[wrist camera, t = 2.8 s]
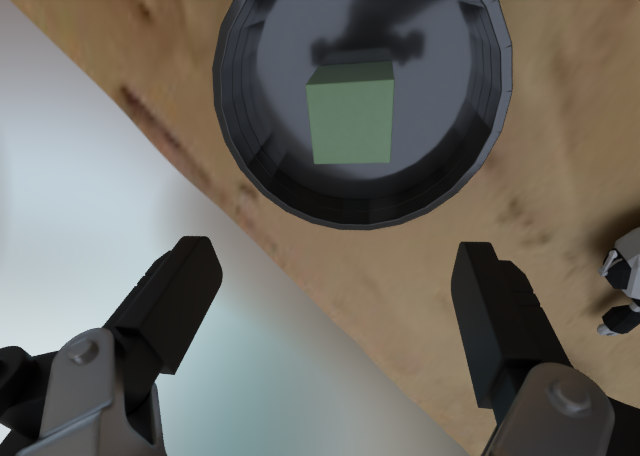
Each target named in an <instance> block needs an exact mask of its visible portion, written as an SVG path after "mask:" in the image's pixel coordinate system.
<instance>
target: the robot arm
mask: <svg viewBox="0 0 640 456" xmlns="http://www.w3.org/2000/svg"><path fill="white" fill-rule="evenodd" d="M222 275H223V274H222V268H221V265H220V263H219V260H218V258H217V255H216V253H215V251H214V248H213V246H212V243H211V241H210V239H209V238H208V237H205V236H184V237H182V238H181V239H180V240H179V241H178V243H177V244H176V245H175V247H174V248H173V249H172V250H171V251H168V252H167V253H165V254H164V255H163V256H161V257H160V258H159V259H157V260H156V261H155V262H154V263H153V264H152V266H151V267H150V268H149V269H148V271H147V272H146V273H145V276H143V277H142V278H141V279H140V281H139V282H138V283H137V286H135V287H134V288H133V289H132V291H131V292H130V293H129V295H128V296H127V297H126V298H125V299H124V301H123V302H122V303H121V305H120V306H119V307H118V308H117V309H116V311H115V312H114V313H113V315H112V316H111V317H110V318H109V320H108V321H107V322H106V323H105V325H104V326H103V327H102V328H94V329H90V330H87V331H85V332H83V333H81V334H79V335H77V336H75V337H74V338H72V339H71V340H70V341H68V342H67V343H66V344H65V345H64V346H63V347H62V348H61V349H60V350H59V351H55V352H50V353H46V354H42V355H37V356H33V357H32V356H31V355H29V354H28V353H27V352H26V351H24V350H23V349H22V348H21V347H18V346H8V347H5V348H1V349H0V423H1V424H3V425H4V426H6V427H8V428H10V429H11V431H10V433H9V434H8V435H7V436H6V438H5V439H4V440H3V442H2V443H1V444H0V456H167V454H166V451H165V447H164V440H163V433H162V424H161V415H160V408H159V399H158V390H157V386H156V384H155V380H156V378H157V376H158V375H159V373H162V374H171V375H175V373H176V371H177V369H178V367H179V365H180V363H181V361H182V359H183V357H184V355H185V354H186V352H187V350H188V348H189V346H190V344H191V342H192V340H193V338H194V336H195V334H196V332H197V330H198V328H199V326H200V325H201V323H202V321H203V319H204V317H205V315H206V313H207V311H208V309H209V307H210V305H211V303H212V301H213V299H214V297H215V295H216V294H217V292H218V290H219V288H220V286H221V283H222V277H223V276H222ZM451 294H452V300H453V304H454V308H455V312H456V317H457V321H458V325H459V329H460V333H461V338H462V342H463V346H464V350H465V354H466V359H467V363H468V367H469V371H470V375H471V380H472V384H473V388H474V392H475V396H476V400H477V405H478V408H487V409H493V411H494V415H495V419H496V422H497V425H496V427H495V429H494V431H493V433H492V435H491V437H490V438H489V440H488V442H487V444H486V446H485V448H484V450H483V452H482V454H481V456H640V409H638V408H635V407H633V406H630V405H627V404H624V403H622V402H619V401H617V400H614V399H612V398H610V397H608V396H606V394H605V393H604V392H603V390H602V389H601V388H600V387H599V386H598V385H597V384H596V383H595V382H594V381H593V380H591V379H590V378H589V377H587V376H586V375H584V374H583V373H581V372H580V371H578V370H576V369H574V368H573V366H572V365H571V363H570V361H569V359H568V357H567V355H566V354H565V352H564V350H563V348H562V346H561V344H560V342H559V340H558V338H557V336H556V334H555V332H554V330H553V328H552V326H551V324H550V322H549V320H548V318H547V316H546V314H545V312H544V310H543V308H542V307H540V302H539V300H538V298H537V297H536V295H535V294H534V293H533V289H532V287H531V285H530V283H529V281H528V279H527V277H526V275H525V274H524V273H523V272H522V271H521V270H520V269H519V268H518V267H517V266H516V265H514V264H513V263H512V262H511V261H505V260H498V258H497V255H496V253H495V251H494V249H493V246H492V244H491V243H490V242H461V243H460V244H459V248H458V252H457V256H456V261H455V265H454V269H453V274H452V278H451Z"/></svg>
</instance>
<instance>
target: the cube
mask: <svg viewBox="0 0 640 456" xmlns="http://www.w3.org/2000/svg"><path fill="white" fill-rule="evenodd" d="M394 86H395V79H394V72H393V66H392V61H381V62H367V63H354V64H340V65H326V66H318V68H317V69H316V71H315V72H314V73H313V75H312V76H311V78H310V79H309V81H308V82H307V83H306V85H305V88H306V97H307V105H308V114H309V123H310V132H311V140H312V149H313V158H314V164H349V163H390V162H391V144H392V125H393V105H394Z"/></svg>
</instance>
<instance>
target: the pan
mask: <svg viewBox="0 0 640 456" xmlns="http://www.w3.org/2000/svg"><path fill="white" fill-rule="evenodd" d="M381 61H392V66H393V72H394V79H395V86H394V105H393V125H392V144H391V162H390V163H349V164H314V158H313V149H312V140H311V132H310V123H309V114H308V105H307V97H306V88H305V85H306V83H307V82H308V81H309V79H310V78H311V76H312V75H313V73H314V72H315V71H316V69H317V68H318V66H326V65H340V64H354V63H367V62H381ZM212 73H213V93H214V106H215V111H216V114H217V117H218V121H219V124H220V128H221V131H222V134H223V138H224V140H225V143H226V145H227V147H228V148H229V150H230V152H231V154H232V156H233V157H234V159H235V161H236V163H237V165H238V166H239V168H240V170H241V171H242V172H243V173H244V174H245V175H246V177H247V178H248V179H249V180H250V181H251V182H252V183H253V184H254V186H255V187H256V188H257V189H258V190H259V191H260V192H261V193H262V194H263V195H264V196H265V197H267V198H268V199H270V200H271V201H272V202H274V203H275V204H276V205H278V206H279V207H280V208H282V209H283V210H285V211H286V212H288V213H290V214H293V215H295V216H297V217H299V218H301V219H304V220H306V221H308V222H310V223H313V224H317V225H322V226H326V227H330V228H335V229H339V230H340V229H341V230H374V229H379V228H385V227H390V226H395V225H399V224H403V223H405V222H408V221H410V220H412V219H415V218H417V217H420V216H422V215H425V214H427V213H429V212H431V211H432V210H433V209H435V208H436V207H438V206H439V205H441V204H442V203H444V202H445V201H447V200H448V199H449V198H451V197H452V196H454V195H455V194H456V193H458V192H459V191H460V190H461V188H462V187H463V186H464V185H465V184H466V183H467V182H468V181H469V180H470V179H471V178H472V177H473V175H474V174H475V173H476V172H477V171H478V170H479V169H480V168H481V166H482V165H483V163H484V162H485V160H486V158H487V156H488V155H489V153H490V151H491V149H492V147H493V146H494V144H495V142H496V140H497V139H498V137H499V135H500V133H501V131H502V128H503V124H504V121H505V117H506V113H507V110H508V106H509V102H510V99H511V95H512V89H513V80H512V41H511V38H510V35H509V32H508V29H507V25H506V22H505V19H504V16H503V13H502V9H501V6H500V3H499V0H233V2H232V4H231V6H230V8H229V10H228V12H227V14H226V16H225V18H224V20H223V22H222V24H221V27H220V32H219V37H218V42H217V47H216V52H215V57H214V61H213V68H212Z"/></svg>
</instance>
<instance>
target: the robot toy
mask: <svg viewBox="0 0 640 456" xmlns="http://www.w3.org/2000/svg"><path fill="white" fill-rule="evenodd" d="M598 272H599V274H600V276H605V277H606V279H607V280H608V282H609V283H610V284H611V285H612V286H613V288H614V289H621V290H622V291H623V292H624V293H625V294H626V295H627V296H628V297H631V298H632V300H633V302H632V303H631V304H630V305H623V306H616V307H612V308H611V309H610V310H609V311H608V312H607V313H606V314H605V315H603V316H602V319H603V322H604V324H600V325H599V326H598V328H597V332H598V333H599V334H600V335H608V336H615V335H617V334H619V333H620V334H625V333H628V332H629V331H631V330H632V329H633V328H635V327H636V326H637V325H639V324H640V227H638V228H635V229H633V230H632V231H630V232H629V233H627V234H626V235H624V236H623V237H621V238H620V239H618V240H616V241H615V247H614V248H613V249H611V250H609V251H608V253H607V256H606V258H605V260H604V261H603V267H600V268H599V269H598Z"/></svg>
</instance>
